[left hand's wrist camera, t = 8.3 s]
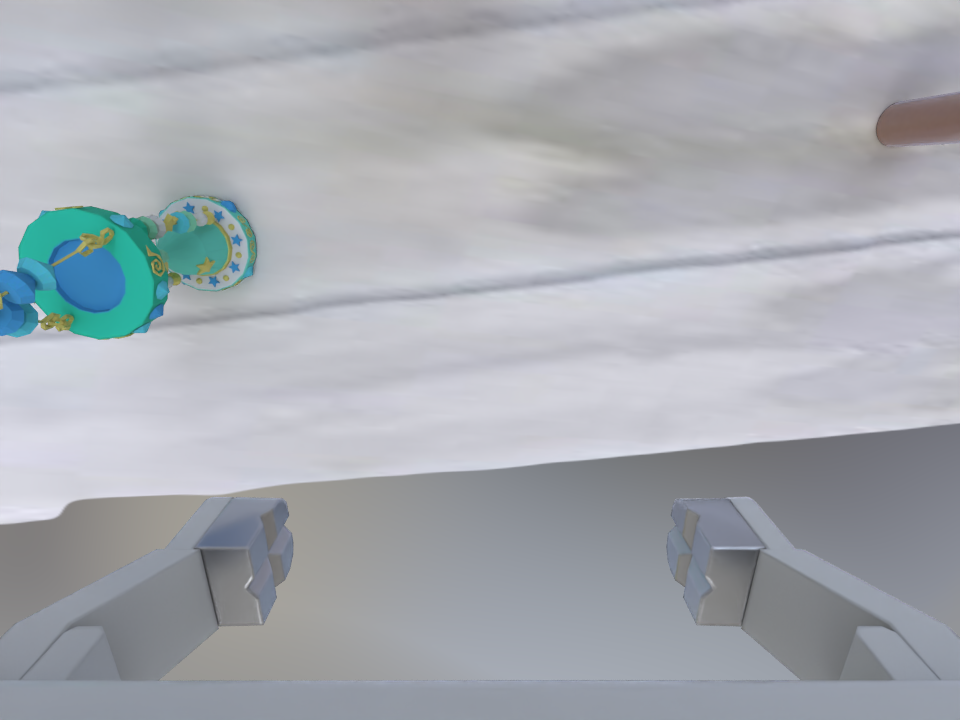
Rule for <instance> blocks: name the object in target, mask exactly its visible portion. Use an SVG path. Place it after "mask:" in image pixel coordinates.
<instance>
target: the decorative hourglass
mask: <svg viewBox="0 0 960 720" xmlns="http://www.w3.org/2000/svg"><path fill="white" fill-rule="evenodd" d="M59 209H64V210H59ZM55 210H57V211H42V212H41V214H40V216H39V218H38V219H37V220H35V221H34V222H33V223H31V224H30V225H28V227H27V229H26V231H25V234H24V236H23V238H22V241H21V243H20V245H19V247H18V248H19V263H18V266H17V272H13V271H7V270H1V271H0V336H4V335H9V336H13V337H20V336H24V335H27V334H30V333H31V332H32V331H33V330H34V329H35V327H36V326H37V325H38V323H41V328H42V329H44V330H48V329H50V328H53V327H54V326H56V329H57V330H58V331H62V330H69V331H71V332H73V333H74V334H78V335H83V336H87V337H91V338H95V339H97V340H105V339H110V338H118V339H119V338H124V337H128V336H131V335H132V334H134V333H146V332H147V331H148V328H149V326H150V324H151V321H153V320H154V319H156V318H157V317H160V316H162V315H163V306H164V304H165V302H166V301H167V297H168V293H169V292H170V291H169V288H170V287H172V285H178V284H180V282H182V283H183V284H186V285H189V286H191V287H193V288H195V289H197V290H205V291H219V290H224V289H227V288H230V287H232V286H235V285H237V284H239V283H240V282H241V281H242V280H243V279H244V278H246V277H249V276H251V275H253V265H254V262H255V259H256V256H257V253H256V241H255V236H254V234H253V232H252V230H251V228H250V226H249V224H248V221H247V220H246V219H245V218H244V217H243V216H242V215H241V214H240V213H239V212H238V211H237V209H236V207H235V205H234V203H232V202H230V201H221V200H219V199H217V198H215V197H208V196H204V195H200V196H193V197H190V196H188V197H184V198H182V199H180V200H177V201H174V202H172V203H170V205H169V206H168V207H167V208H166V209H165V210H162V211H160V213H159V217H157V216H154V215H150V216H147V217H144V216H142V217H139V218H130V219H128V218H127V217H126V216H125V215H120V214H118V213H116V212H112V211H108V210H104V209H100V208H96V207H92V206H90V207H83V206H75V207H63V208H55ZM152 239H156V246H157V247H156V246H155V245H154V243H153V242H152V241H151V240H152ZM168 270H169V271H170V272H171V273H169V274H168ZM30 303H34V304H35V303H36V304H37V305H38V306H39V307H40V308H41V309H42V310H43V312H44V313H45V314H46V315H47V317H45V318H44V319H42V320H41V321H40V320H38V312H37V311H36V310H35V309H34V308H33V307H32V306H31V305H30ZM47 322H48V325H46V323H47ZM55 322H56V323H55Z"/></svg>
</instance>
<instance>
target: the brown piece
mask: <svg viewBox="0 0 960 720" xmlns="http://www.w3.org/2000/svg"><path fill="white" fill-rule="evenodd" d="M876 132H877V137H878V139H879V141H880V142H881V143H882V144H883V145H885V146H888V147H903V146H920V145H938V144H955V143H960V92H954V93H948V94H942V95H936V96H930V97H924V98H918V99H912V100H906V101H900V102H897V103H894V104H892V105H891V106H889V107H888V108H887V109H886V110H885V111H884V112H883V113H882V115H881V116H880V118H879V120H878V123H877V128H876Z"/></svg>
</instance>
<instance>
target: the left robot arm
mask: <svg viewBox="0 0 960 720" xmlns="http://www.w3.org/2000/svg"><path fill="white" fill-rule="evenodd" d="M288 516H289V512H288V508H287V503H286V501H285V500H284V499H282V498H246V497H236V498H234V497H212V498H209V499H206V500H205V501H204V503H203V504H202V505H201V506H200V507H199V509H198V510H197V511H196V512H195V513H194V515H193V516H192V517H191V518H190V519H189V520H188V522H187V523H186V524H185V525H184V526H183V528H182V529H181V530H180V531H179V532H178V534H177V535H176V536H175V537H174V538H173V539H172V541H171V542H170V543H169V544H168V545H167V547H166V548H165V549H156V550H154V551H152V552H150V553H148V554H146V555H145V556H143V557H141V558H139V559H137V560H135V561H133V562H131V563H130V564H127V565H126V566H124V567H122V568H120V569H118V570H116V571H114V572H112V573H110V574H108V575H107V576H105V577H103V578H101V579H99V580H97V581H95V582H93V583H91V584H89V585H87V586H86V587H84V588H82V589H80V590H78V591H76V592H74V593H72V594H70V595H68V596H67V597H65V598H63V599H61V600H59V601H57V602H55V603H53V604H51V605H49V606H47V607H46V608H44V609H42V610H40V611H38V612H36V613H34V614H32V615H30V616H28V617H27V618H25V619H23V620H21V621H19V622H17V623H15V624H14V625H13V626H12V627H11V628H10V629H9V630H8V631H7V632H6V633H5V634H4V635H2V636H1V637H0V720H960V637H959V636H958V635H957V634H956V633H955V632H954V631H953V630H952V629H951V628H950V627H949V626H948V625H946V624H944V623H943V622H941V621H939V620H937V619H935V618H933V617H931V616H929V615H927V614H925V613H924V612H922V611H920V610H918V609H916V608H914V607H912V606H910V605H908V604H907V603H905V602H903V601H901V600H899V599H897V598H895V597H893V596H891V595H889V594H888V593H886V592H884V591H882V590H880V589H878V588H876V587H874V586H872V585H870V584H869V583H867V582H865V581H863V580H861V579H859V578H857V577H855V576H853V575H851V574H850V573H848V572H846V571H844V570H842V569H840V568H838V567H836V566H834V565H832V564H831V563H829V562H827V561H825V560H823V559H821V558H819V557H817V556H815V555H813V554H812V553H810V552H808V551H806V550H804V549H795V548H794V547H793V545H792V544H791V543H790V542H789V541H788V540H787V538H786V537H785V536H784V535H783V534H782V532H781V531H780V530H779V529H778V528H777V526H776V525H775V524H774V523H773V522H772V521H771V519H770V518H769V517H768V516H767V515H766V513H765V512H764V511H763V510H762V509H761V507H760V506H759V505H758V504H757V503H756V502H755V500H753V499H751V498H749V497H729V498H709V499H708V498H707V499H706V498H705V499H675V501H674V504H673V506H672V512H671V516H672V518H673V520H674V522H675V524H676V526H675V527H674V528H673V529H672V530H671V531H670V532H669V533H668V538H667V557H668V563H669V566H670V570H671V572H672V574H673V577H674V579H675V580H676V581H677V582H678V583H680V584H681V585H682V586H684V587H685V591H684V596H683V598H684V600H685V602H686V604H687V606H688V608H689V610H690V612H691V614H692V616H693V618H694V621H695V623H696V625H712V626H742V628H741V629H742V630H744V631H745V632H746V633H747V634H748V635H749V636H751V637H752V638H753V639H754V640H755V641H756V642H757V643H759V644H760V645H761V646H762V647H763V648H764V649H766V650H767V651H768V652H769V653H770V654H771V655H772V656H774V657H775V658H776V659H777V660H778V661H779V662H781V663H782V664H783V665H784V666H785V667H786V668H787V669H789V670H790V671H791V672H792V673H793V674H794V675H796V676H797V677H798V678H799V679H800V680H755V681H754V680H753V681H679V680H678V681H677V680H676V681H675V680H673V681H672V680H669V681H668V680H431V681H430V680H426V681H424V680H423V681H421V680H418V681H417V680H416V681H159V680H160V679H161V678H162V677H163V676H165V675H166V674H167V673H168V672H169V671H170V670H171V669H173V668H174V667H175V666H176V665H177V664H178V663H180V662H181V661H182V660H183V659H184V658H185V657H187V656H188V655H189V654H190V653H191V652H192V651H193V650H195V649H196V648H197V647H198V646H199V645H200V644H202V643H203V642H204V641H205V640H206V639H207V638H209V637H210V636H211V635H212V634H213V633H214V632H216V631H217V630H218V626H248V625H264V623H265V621H266V618H267V616H268V614H269V612H270V610H271V608H272V606H273V604H274V602H275V600H276V591H275V587H276V586H278V585H279V584H280V583H282V582H283V581H284V580H285V579H286V577H287V574H288V572H289V570H290V567H291V562H292V557H293V538H292V533H291V532H290V531H289V530H288V529H287V528H286V527H285V526H284V524H285V522H286V520H287V518H288Z"/></svg>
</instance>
